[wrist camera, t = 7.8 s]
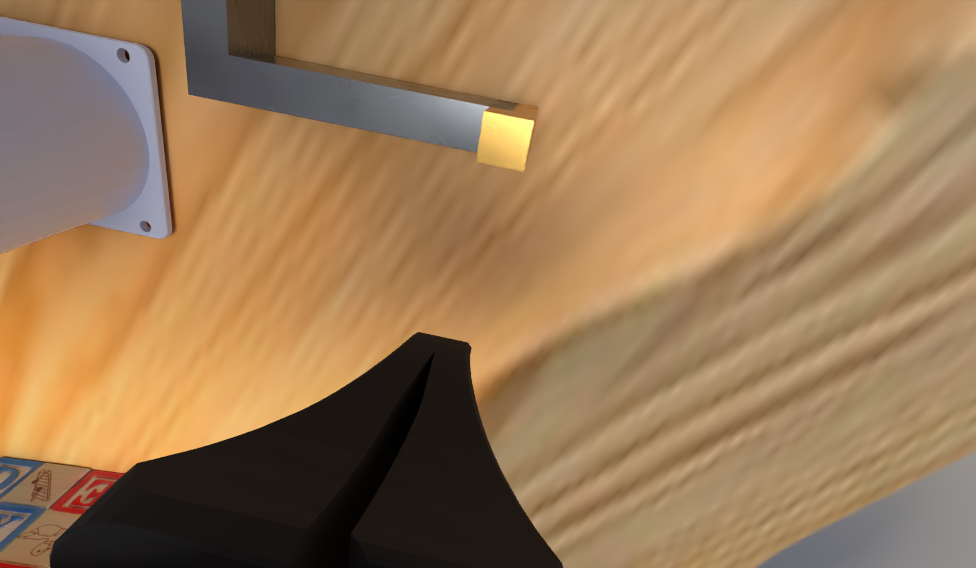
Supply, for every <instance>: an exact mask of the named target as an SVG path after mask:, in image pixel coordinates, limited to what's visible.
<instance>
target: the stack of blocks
mask: <svg viewBox="0 0 976 568" xmlns="http://www.w3.org/2000/svg"><path fill="white" fill-rule="evenodd" d="M123 475H124V474H122V473H115V472H107V471H99V470H95V471H92V470H91V469H89V468H81V467H74V466H66V465H59V464H52V463H43V462H38V461H31V460H23V459H14V458H7V457H1V458H0V568H50V559H49V556H50V553H51V550H52V547H53V544H54V541H56V540H57V539H58V538H59V537H60V536H61V535H62V534H63V533H64V532H65V531H66V530H67V529H68V528H69V527H70V526H71V525H72V524H73V523H74V522H75V521H76V520H77V519H78V518H79V517H80V516H81V515H82V514H83V513H84V512H85V511H86V510H87V509H88V508H89V507H90V506H91V505H92V504H93V503H94V502H95V501H96V500H97V499H98V498H99V497H100V496H101V495H102V494H103V493H104V492H105V491H106V490H107V489H108V488H110V487H111V486H112V485H113V484H114V483H115V482H116V481H117V480H118V479H119V478H121V477H122V476H123Z"/></svg>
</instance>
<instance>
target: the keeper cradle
mask: <svg viewBox="0 0 976 568" xmlns="http://www.w3.org/2000/svg"><path fill="white" fill-rule="evenodd" d="M181 6H182V19H183V31H184V44H185V56H186V69H187V81H188V93H189V95H194V96H199V97H204V98H209V99H214V100H219V101H224V102H229V103H234V104H239V105H244V106H248V107H253V108H258V109H263V110H268V111H273V112H278V113H283V114H288V115H293V116H298V117H303V118H308V119H313V120H318V121H323V122H328V123H333V124H338V125H343V126H348V127H353V128H358V129H363V130H368V131H373V132H378V133H383V134H388V135H393V136H398V137H402V138H407V139H412V140H417V141H422V142H427V143H432V144H437V145H442V146H447V147H452V148H457V149H462V150H467V151H472V152H477V157H476V162H479V163H484V164H489V165H494V166H499V167H503V168H508V169H513V170H518V171H523V172H524V168H525V165H526V161H527V157H528V153H529V149H530V145H531V140H532V135H533V130H534V126H535V121H536V116H537V111H538V108H537V107H532V106H527V105H522V104H517V103H512V102H507V101H502V100H497V99H492V98H487V97H482V96H476V95H471V94H466V93H461V92H456V91H451V90H446V89H441V88H436V87H431V86H426V85H421V84H416V83H411V82H405V81H400V80H395V79H390V78H385V77H380V76H375V75H370V74H365V73H360V72H355V71H350V70H345V69H340V68H334V67H329V66H324V65H319V64H314V63H309V62H304V61H299V60H294V59H289V58H284V57H279V56H275V1H274V0H181Z"/></svg>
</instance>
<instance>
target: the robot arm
mask: <svg viewBox="0 0 976 568" xmlns="http://www.w3.org/2000/svg"><path fill="white" fill-rule="evenodd" d="M125 50H127V52H128V53H129V56H130V60H129V61H128V60H127V59H126V57H125ZM146 222H148V223H149V224H150V226H151V228H149V227H148V226H147V223H146ZM85 224H91V225H95V226H100V227H105V228H109V229H114V230H119V231H123V232H128V233H133V234H138V235H142V236H147V237H152V238H156V239H163V238H165V237H168V236H170V235H171V233H172V220H171V211H170V201H169V192H168V182H167V173H166V163H165V154H164V144H163V135H162V125H161V116H160V106H159V97H158V87H157V78H156V68H155V60H154V56H153V54H152V52H151V51H150V49H149V48H147V47H146V46H145V45H142V44H139V43H133V42H128V41H123V40H118V39H113V38H108V37H103V36H98V35H93V34H88V33H83V32H78V31H73V30H68V29H63V28H58V27H53V26H48V25H43V24H38V23H33V22H28V21H23V20H17V19H12V18H7V17H2V16H0V254H2V253H5V252H8V251H11V250H14V249H16V248H19V247H22V246H25V245H28V244H31V243H33V242H36V241H39V240H42V239H45V238H48V237H51V236H53V235H56V234H59V233H62V232H65V231H68V230H70V229H73V228H76V227H79V226H82V225H85ZM470 353H471V346H470V345H469V344H468V343H467V342H463V341H458V340H453V339H449V338H444V337H439V336H435V335H430V334H425V333H421V332H418V333H416V334H414V335H413V336H412V337H410V338H409V339H408V340H407V341H406V342H405V343H403V344H402V345H401V346H400V347H399V348H397V349H396V350H395V351H394V352H392V353H391V354H390V355H389V356H387V357H386V358H385V359H383V360H382V361H381V362H379V363H378V364H377V365H375V366H374V367H373V368H371V369H370V370H368V371H367V372H366V373H364V374H363V375H361V376H360V377H358V378H357V379H355V380H354V381H352V382H350V383H349V384H347V385H346V386H344V387H343V388H341V389H340V390H338V391H336V392H335V393H333V394H331V395H330V396H328V397H326V398H324V399H322V400H321V401H319V402H317V403H315V404H313V405H311V406H309V407H307V408H305V409H303V410H301V411H299V412H297V413H294V414H292V415H289V416H287V417H285V418H282V419H280V420H278V421H275V422H273V423H271V424H268V425H266V426H263V427H261V428H258V429H256V430H253V431H250V432H247V433H244V434H242V435H239V436H236V437H233V438H230V439H227V440H223V441H220V442H217V443H214V444H211V445H207V446H204V447H200V448H197V449H193V450H189V451H185V452H181V453H177V454H173V455H169V456H165V457H161V458H157V459H153V460H149V461H145V462H140V463H137V464H136V465H134V466H133V467H132V468H131V469H130V470H129V471H128V472H126V473H125V474H124V475H123V476H122V477H121V478H119V479H118V480H117V481H116V482H115V483H114V484H113V485H112V486H111V487H110V488H108V489H107V490H106V491H105V492H104V493H103V494H102V495H101V496H100V497H99V498H98V499H97V500H96V501H95V502H94V503H93V504H92V505H91V506H90V507H89V508H88V509H87V510H86V511H85V512H84V513H83V514H82V515H81V516H80V517H79V518H78V519H77V520H76V521H75V522H74V523H73V524H72V525H71V526H70V527H69V528H68V529H67V530H66V531H65V532H64V533H63V534H62V535H61V536H60V537H59V538H58V539H57V540H56V541H54V544H53V547H52V550H51V553H50V556H49V559H50V568H563V566H562V563H561V561H560V560H559V559H558V557H557V556H556V555H555V554H554V552H553V551H552V550H551V548H550V547H549V546H548V545H547V543H546V542H545V541H544V539H543V538H542V537H541V535H540V534H539V533H538V531H537V530H536V528H535V527H534V525H533V524H532V522H531V521H530V519H529V518H528V516H527V515H526V513H525V512H524V510H523V509H522V507H521V505H520V504H519V502H518V500H517V498H516V496H515V495H514V493H513V491H512V489H511V488H510V486H509V484H508V482H507V480H506V479H505V477H504V475H503V473H502V471H501V469H500V467H499V465H498V462H497V460H496V458H495V456H494V454H493V451H492V449H491V446H490V444H489V441H488V439H487V436H486V433H485V430H484V427H483V425H482V421H481V418H480V415H479V411H478V407H477V403H476V399H475V395H474V390H473V385H472V379H471V370H470Z"/></svg>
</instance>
